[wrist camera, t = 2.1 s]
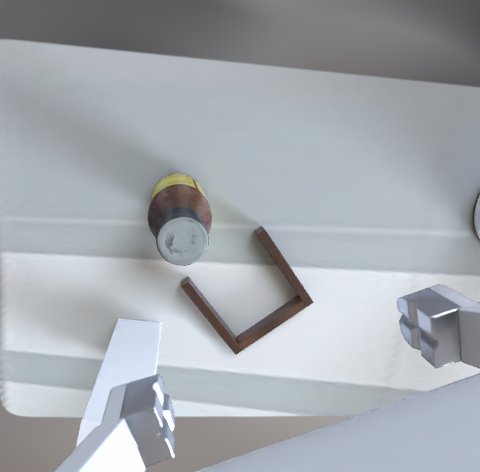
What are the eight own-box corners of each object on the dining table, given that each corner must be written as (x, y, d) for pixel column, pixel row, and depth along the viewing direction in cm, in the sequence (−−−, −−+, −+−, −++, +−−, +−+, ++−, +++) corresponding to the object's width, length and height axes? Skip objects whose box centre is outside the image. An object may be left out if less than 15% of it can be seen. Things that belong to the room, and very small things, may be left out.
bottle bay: (261, 225, 49) (264, 229, 47) (308, 296, 53) (313, 302, 51) (180, 281, 49) (180, 286, 48) (234, 347, 53) (235, 354, 52)
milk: (118, 317, 50) (68, 449, 28) (162, 322, 51) (146, 452, 30) (113, 356, 51) (62, 509, 30) (156, 360, 52) (137, 510, 31)
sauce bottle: (143, 200, 46) (115, 245, 27) (173, 161, 45) (166, 180, 26) (185, 230, 48) (186, 293, 29) (214, 193, 47) (235, 232, 28)
